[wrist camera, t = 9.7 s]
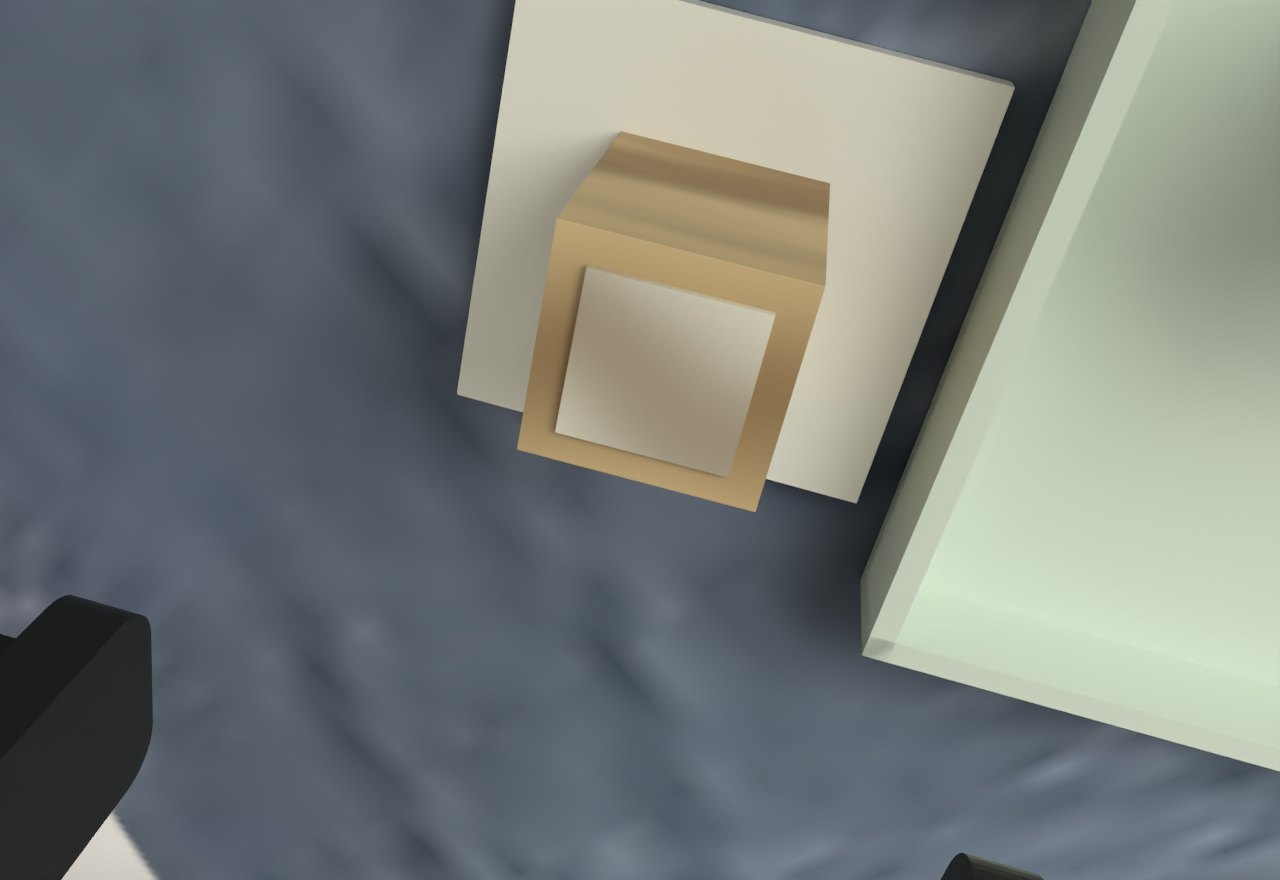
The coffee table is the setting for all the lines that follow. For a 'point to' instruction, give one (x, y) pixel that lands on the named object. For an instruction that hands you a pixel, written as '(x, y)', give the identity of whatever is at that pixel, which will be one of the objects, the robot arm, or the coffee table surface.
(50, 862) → the robot arm
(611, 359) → the oak box
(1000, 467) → the parts tray
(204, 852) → the coffee table surface
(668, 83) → the ceramic tile
